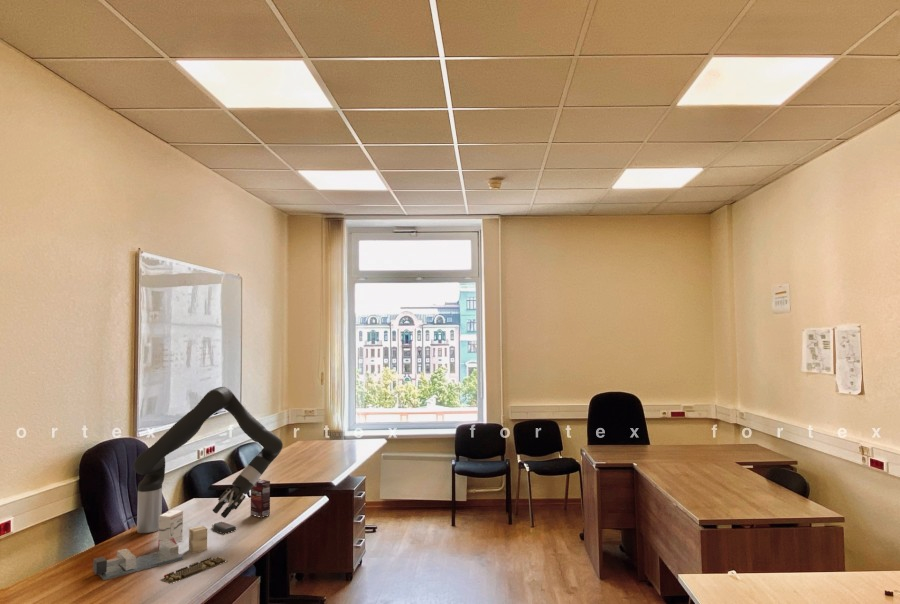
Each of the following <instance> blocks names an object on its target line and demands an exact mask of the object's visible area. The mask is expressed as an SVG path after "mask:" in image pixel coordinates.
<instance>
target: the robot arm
mask: <svg viewBox="0 0 900 604" xmlns="http://www.w3.org/2000/svg"><path fill="white" fill-rule="evenodd" d="M223 409H224V410H225V411H227V412H228V413H230V414H231V415H232V416H233V418H234V419H235V420H236V423H237V424H238V426H239V428H240V429H241V431H242V432H243V433H244V434H246V435H247V436H248V437H249V438H250V439H251V440H252V441H253V442H254V443H258V444H259V445H260V446H262V447H263V448H262V449H261V450H260V452H259V453H258V454H257V455H256V456H254V458H252V459H251V460H250V462H249V463H248V465H246V467H244V468H243V469H242V471H241V472H239V474H238V475H237V477H236V478H235V479H234V480H233V481H232V484H231V485H232V488H230V487H227V488H226V489H225V490H224V492H223V493H222V494H220V496H219V497H218V498H217V500H218V503H217V504H216V506H214V507H213V508H212V512H213V513H215V514H218V513H219V512H220V510H221V509H222V508H223V507H224V505H227V506H226V507H225V509H224V510H223V511H222V512H221V513H220V516H221V517H223V518H224V519H226V517H227V516H229V514H230V513H231V511H234V510H237V509H238V508H239V507H240V505H241V504H242V503H243V501H244V500H245V499H246V495H248V494H249V492H251V488H252V487H253V486H254V485H255V483H256V482H257V481H258V480H259V479H260V478H261V477H262V475H263V474H264V473H265V471H266V470H267V469H268V467H269V466H270V465H271V463H272V462H274V461H275V459H276V458H277V457H278V456H279V455H280V453H281V451H282V449H283V447H284V446H283V441H282V440H281V438H279V436H277V435H276V434H274V433H273V432H272V431H270V430H268V429H267V427H265V426H264V425H263V424H262V423H261V422H260V421H258V420H257V419H256V418H255V417H254V415H252V414H251V413H250V412H249V410H247V409H246V408H245V406H244V404H242V403H241V401H240V400H239V399H238V398H237V397H236V395H235V394H234V393H233V392H232V391H231V390H230V388H228V387H226V386H219V387H216V388H213V389H210V390H209V391H208V392H207V393H206V394H204V396H203V397H202V399H200V400H199V402H198V403H197V404H196V406H194V407H193V408H192V409H191V410H190V411H188V412H187V413H186V414H185V415H183V416H182V417H181V418H180V419H179V420H177V421H176V422H175V423H174V424H173V425H172V426H171V427H170V428H169V429H168V430H167V431H166V432H165V433H164V434H163V435H162V436H161V437H160V438H159V439H158V440H156V442H155V443H154V444H152V445H151V446H149V448H147V449H146V450H144V451H143V452H141V453H140V454H139V455H138V456H137V457H136V458H135V460H134V462H133V469H134V472H135V473H136V474H138V475H142V476H144V477H143V478H142V480H141V481H140V482H139V483H137V485H138V486H137V510H136V511H137V512H136V514H137V516H136V518H137V519H136V520H137V521H136V533H138V534H148V533H150V534H151V533H154V532H157V531H158V532H159V516H160V515H162V514H163V513H162V508H163V506H162V504H163V503H162V502H163V483H164V481H165V475H166V456H167V455H169V454H171V453H172V452H174V451H176V450H178V449H179V448H181V447H182V446H184V445H185V444H186V443H188V442H189V441H190V440H191V439H192V438H193V437H194V436H195V435H196V434H198V433H199V431H200V429H201V428H202V426H203V425H204V423H205V422H206V421H207V420H208V419H209V418H210V417H212V416H213V415H214V414H215V413H217V412H219V411H221V410H223Z"/></svg>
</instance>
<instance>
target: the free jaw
mask: <svg viewBox="0 0 900 604" xmlns="http://www.w3.org/2000/svg"><path fill="white" fill-rule="evenodd" d="M92 562H93V563H92V571H93V573H94V574H95V576H97V575H98V576H99V574H102V573H105V572H107V567H110V566H114V565H118V564H120V565H121V566H122V567H123V568H124V569H125V570H130V569H134V568H135V567H136V555H134V554H133V552H131V551H130V550H129V548H122V549H118V550H116V557H115V558H111V559H110V558H109V559H106V558H105V556H99V557H95V558H93V559H92Z"/></svg>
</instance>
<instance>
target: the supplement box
mask: <svg viewBox="0 0 900 604" xmlns="http://www.w3.org/2000/svg"><path fill="white" fill-rule="evenodd" d="M270 513H271V481H270V480H265V479H260V478H259V480H258V481H257V482H256V483H255V485H254V486H253V487H252V488H251V490H250V516H251V515H256V516H260V517H263V516H267V515H270V516H271V514H270Z"/></svg>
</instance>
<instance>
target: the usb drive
mask: <svg viewBox="0 0 900 604" xmlns="http://www.w3.org/2000/svg"><path fill="white" fill-rule="evenodd" d="M211 528H212V529H213V531H214V530H215V532H217V531H218V533H220V532H221V533H220V534H223V533H224V534H223V535H226V534H225V533H227V534H229V533H228V532H230V533H232V532H231V531H234V530H236V531H237V527H236V525H234V524H230V523H227V522H224V521H218V522H215V523H212V524H211ZM234 532H235V531H234Z"/></svg>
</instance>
